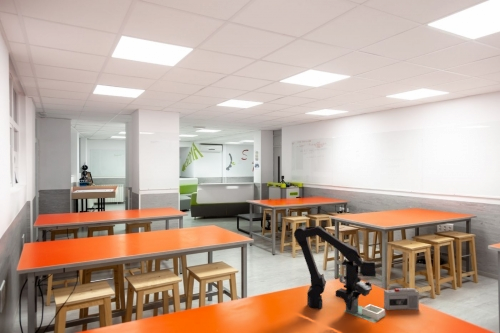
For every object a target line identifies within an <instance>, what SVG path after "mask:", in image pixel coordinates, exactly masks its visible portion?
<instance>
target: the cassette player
mask: <svg viewBox="0 0 500 333" xmlns="http://www.w3.org/2000/svg"><path fill="white" fill-rule="evenodd" d="M419 297H420V292H419V291H418V290H417V289H416V288H414V287H407V288H394V289H389V290H388V289H386V290H385V289H384V290H383V307H384V308H383V309H385V310H387V311H389V310H391V311H393V310H394V311H395V310H416V311H419V310H420V302H419V301H420V298H419Z"/></svg>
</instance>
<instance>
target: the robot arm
mask: <svg viewBox="0 0 500 333" xmlns="http://www.w3.org/2000/svg"><path fill="white" fill-rule="evenodd" d="M314 236H318V237H319V238H321V239H322V240H324V242H326V243H328V244H329V245H330V246H332V247H334V248H335V249H336V250H338V251H339V252H340V254H341V255H342V256H343V258H344V260H342V261H341V265H342V266H345V275H343V278H344V279H346V284H343V288H342V287H341V288H339V289H337V290H336V291H335V297H337V298H341V299H343V302H344V303H345V307H346V306H347V308H348V309H349V310H351V304H352V299H353V298H354V297H356V298H358V299H359V297H360V296H363V297H366V296H368V295H370V292H371V291H372V290H373V287H372V282H370V281H367V282H365V281H362V279H361V276H362V277H369V278H376V276H377V274H376V271H377V270H376V262H375V261H373V260H372V261H368V260H367V261H366V260H363V258H362V257H361V256H360V254H359V250H358V249H357V248H356V247H355V246H353V245H351V244H349V243H346V242H344V241H341V239H339V238H337V237H336V236H334V235H333V234H331V233H330V232H329V231H327V230H326V229H324V228H323V227H322V226H320V225H316V226H307V227H305V226H303V225H301V226H298V227H297V228H296V229H295V230H294V231H293V237H294V238H295V240H296V242H297V243H298V244H297V245H299V246H300V248H301V251H302V253H303V254H302V255H303V257H304V259H305V260H304V261H305V263H306V266H307V269H308V271H309V275H310V284H311V285H310V286H309V288H308V290H307V294H306V295H307V297H306V299H307V301H306V302H307V306H308V307H309V308H311V309H313V310H314V309H316V310H321V309H323V297H322V294H323V293H324V291H325V288H326V285H327V284H326V283H327V281H326V279H325V275H324V273H322V274H321V273H320V272H319V269H318V266H317V264H316V260H315V258H314V254H313V252H312V248H311V246H310V240H309V238H311V237H314ZM359 274H361V276H359Z"/></svg>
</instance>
